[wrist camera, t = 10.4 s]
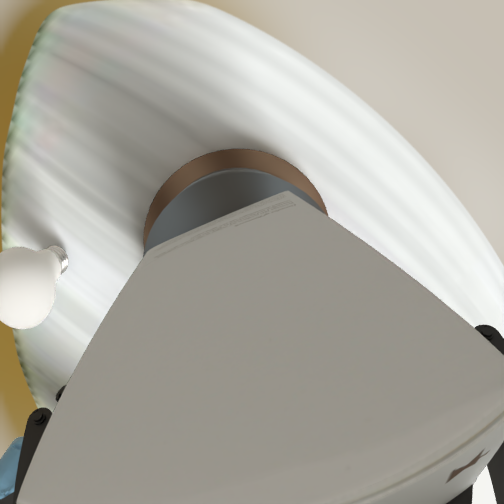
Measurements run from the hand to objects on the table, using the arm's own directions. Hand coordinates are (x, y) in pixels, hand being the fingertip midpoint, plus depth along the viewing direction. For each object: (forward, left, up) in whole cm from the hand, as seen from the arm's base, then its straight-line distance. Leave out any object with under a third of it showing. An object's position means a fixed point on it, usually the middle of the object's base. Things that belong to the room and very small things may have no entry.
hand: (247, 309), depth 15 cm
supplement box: (0, 0, -3) cm, 3 cm away
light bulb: (-18, +2, -12) cm, 22 cm away
